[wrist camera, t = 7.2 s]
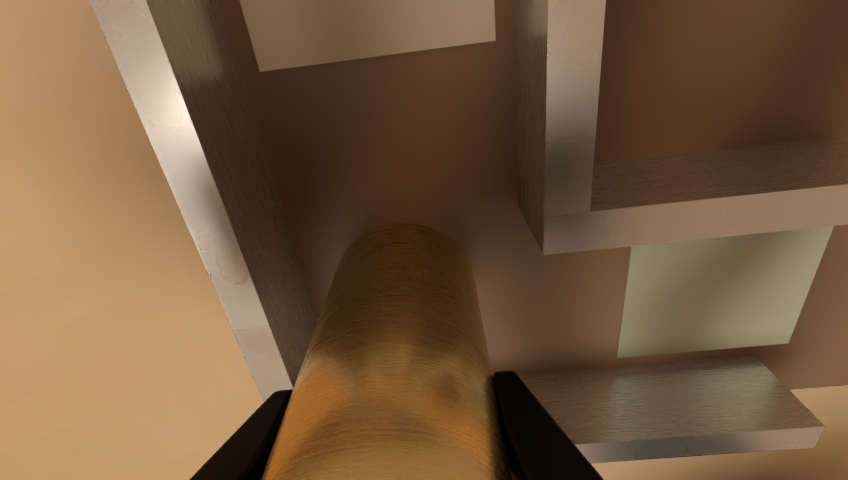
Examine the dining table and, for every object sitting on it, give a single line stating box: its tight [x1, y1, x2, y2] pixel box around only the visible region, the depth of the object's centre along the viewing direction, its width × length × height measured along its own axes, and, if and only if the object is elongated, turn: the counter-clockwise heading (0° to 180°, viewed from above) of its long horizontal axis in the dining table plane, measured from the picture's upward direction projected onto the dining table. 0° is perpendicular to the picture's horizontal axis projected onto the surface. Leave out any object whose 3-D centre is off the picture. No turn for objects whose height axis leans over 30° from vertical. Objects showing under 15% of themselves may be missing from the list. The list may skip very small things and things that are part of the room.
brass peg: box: [261, 223, 513, 480], centre depth 7 cm, size 4×4×10 cm
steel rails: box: [89, 0, 848, 463], centre depth 10 cm, size 16×18×3 cm
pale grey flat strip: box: [220, 0, 848, 390], centre depth 12 cm, size 22×20×1 cm
